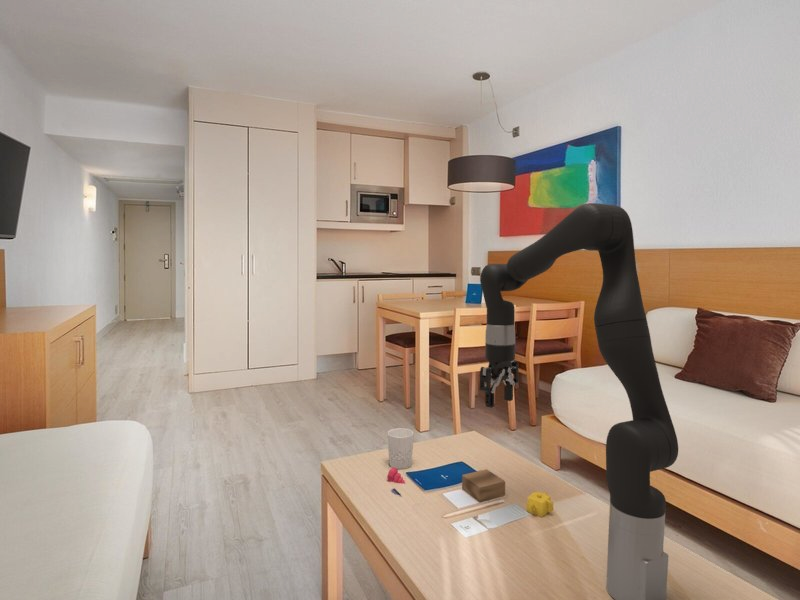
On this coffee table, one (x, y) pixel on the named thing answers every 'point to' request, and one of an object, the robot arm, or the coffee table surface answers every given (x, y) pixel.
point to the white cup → (400, 447)
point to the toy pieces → (395, 479)
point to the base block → (483, 485)
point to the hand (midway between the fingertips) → (499, 403)
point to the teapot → (539, 504)
